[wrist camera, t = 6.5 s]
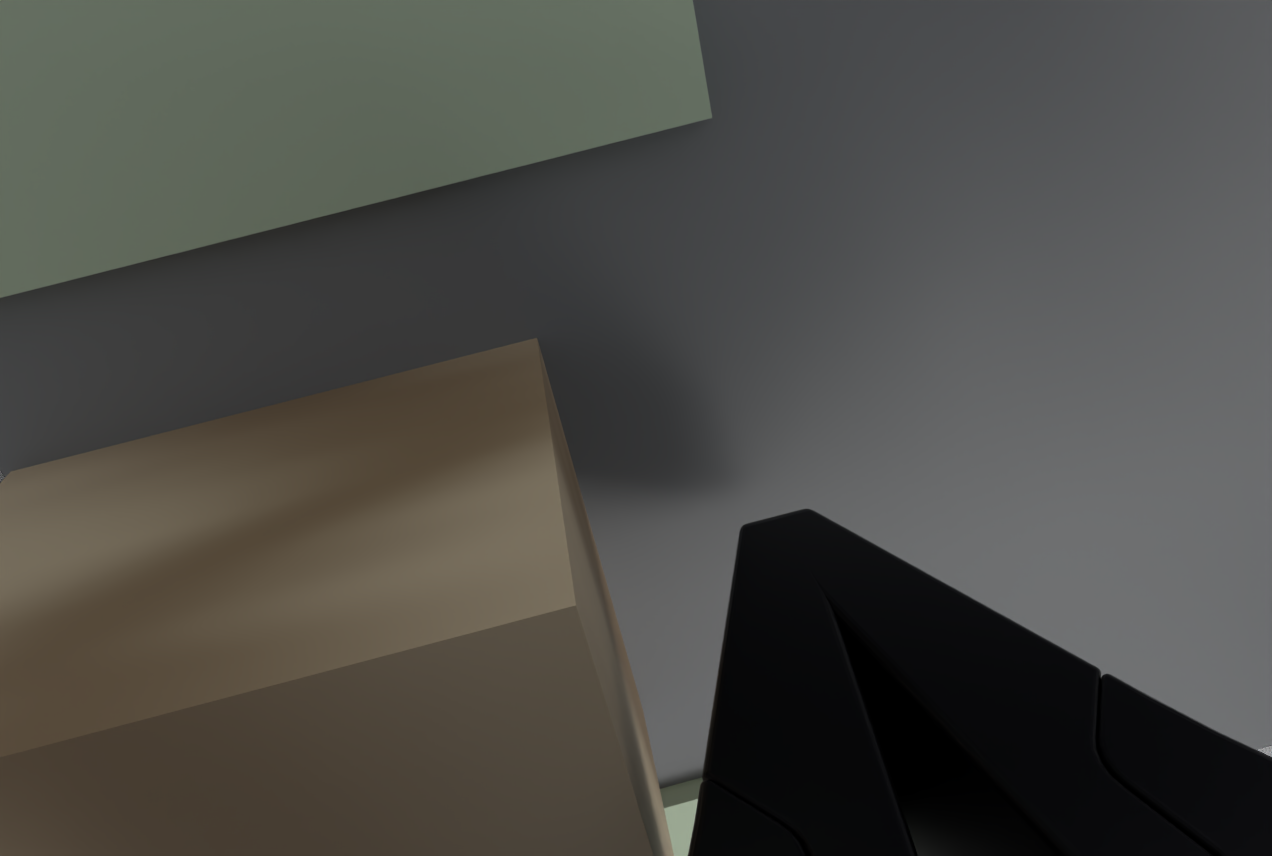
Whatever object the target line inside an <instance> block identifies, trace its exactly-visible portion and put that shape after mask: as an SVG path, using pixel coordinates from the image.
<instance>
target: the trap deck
mask: <svg viewBox="0 0 1272 856" xmlns="http://www.w3.org/2000/svg"><path fill="white" fill-rule="evenodd" d="M534 338H537V339H538V343H539V346H540V350H541V353H542V357H543V360H544V364H545V368H546V371H547V375H548V378H549V382H550V385H551V389H552V392H553V396H554V399H555V403H556V406H557V410H558V413H559V417H560V420H561V424H562V427H563V431H564V434H565V438H566V441H567V445H568V448H569V452H570V455H571V459H572V462H573V466H574V470H575V473H576V477H577V480H578V484H579V487H580V491H581V494H582V498H583V501H584V505H585V508H586V512H587V515H588V519H589V522H590V526H591V529H592V533H593V536H594V540H595V543H596V547H597V550H598V554H599V557H600V561H601V565H602V568H603V572H604V575H605V579H606V582H607V586H608V589H609V593H610V596H611V600H612V603H613V607H614V610H615V614H616V617H617V621H618V624H619V628H620V631H621V635H622V638H623V642H624V645H625V649H626V652H627V656H628V659H629V663H630V667H631V670H632V674H633V677H634V681H635V684H636V688H637V691H638V695H639V698H640V702H641V705H642V709H643V712H644V717H645V722H646V726H647V731H648V736H649V741H650V745H651V750H652V755H653V759H654V764H655V769H656V773H657V778H658V783H659V788H660V792H661V797H662V802H663V806H664V811H665V816H666V820H667V825H668V830H669V834H670V839H671V844H672V849H673V853H674V856H688V852H689V847H690V842H691V837H692V831H693V826H694V821H695V815H696V808H697V802H698V796H699V789H700V784H701V783H702V782H703V780H702V773H703V766H704V760H705V753H706V747H707V740H708V734H709V727H710V721H711V714H712V708H713V701H714V695H715V688H716V681H717V675H718V668H719V662H720V655H721V649H722V642H723V636H724V629H725V623H726V616H727V609H728V603H729V596H730V590H731V583H732V577H733V570H734V564H735V557H736V551H737V544H738V538H739V531H740V529H741V527H742V526H743V525H744V524H747V523H751V522H755V521H758V520H762V519H766V518H770V517H774V516H778V515H782V514H785V513H789V512H793V511H797V510H801V509H806V508H807V509H812V510H814V511H816V512H818V513H819V514H821V515H823V516H825V517H827V518H829V519H830V520H832V521H834V522H836V523H838V524H839V525H841V526H843V527H845V528H847V529H848V530H850V531H852V532H854V533H856V534H857V535H859V536H861V537H863V538H865V539H866V540H868V541H870V542H872V543H874V544H875V545H877V546H879V547H881V548H883V549H884V550H886V551H888V552H890V553H892V554H893V555H895V556H897V557H899V558H901V559H903V560H904V561H906V562H908V563H910V564H912V565H913V566H915V567H917V568H919V569H921V570H922V571H924V572H926V573H928V574H930V575H931V576H933V577H935V578H937V579H939V580H940V581H942V582H944V583H946V584H948V585H949V586H951V587H953V588H955V589H957V590H958V591H960V592H962V593H964V594H966V595H968V596H969V597H971V598H973V599H975V600H977V601H978V602H980V603H982V604H984V605H986V606H987V607H989V608H991V609H993V610H995V611H996V612H998V613H1000V614H1002V615H1004V616H1005V617H1007V618H1009V619H1011V620H1013V621H1014V622H1016V623H1018V624H1020V625H1022V626H1023V627H1025V628H1027V629H1029V630H1031V631H1033V632H1034V633H1036V634H1038V635H1040V636H1042V637H1043V638H1045V639H1047V640H1049V641H1051V642H1052V643H1054V644H1056V645H1058V646H1060V647H1061V648H1063V649H1065V650H1067V651H1069V652H1070V653H1072V654H1074V655H1076V656H1078V657H1079V658H1081V659H1083V660H1085V661H1087V662H1088V663H1090V664H1092V665H1094V666H1096V667H1097V668H1099V669H1100V671H1101V677H1102V676H1103V675H1104V674H1111V675H1113V676H1114V677H1116V678H1118V679H1120V680H1122V681H1123V682H1125V683H1127V684H1129V685H1131V686H1133V687H1134V688H1136V689H1138V690H1140V691H1142V692H1143V693H1145V694H1147V695H1149V696H1151V697H1153V698H1154V699H1156V700H1158V701H1160V702H1162V703H1164V704H1166V705H1168V706H1170V707H1172V708H1174V709H1175V710H1177V711H1179V712H1181V713H1183V714H1185V715H1187V716H1189V717H1191V718H1193V719H1195V720H1196V721H1198V722H1200V723H1202V724H1204V725H1206V726H1208V727H1210V728H1212V729H1214V730H1216V731H1218V732H1220V733H1222V734H1224V735H1226V736H1228V737H1230V738H1232V739H1234V740H1237V741H1239V742H1241V743H1243V744H1245V745H1247V746H1249V747H1251V748H1253V749H1256V750H1257V749H1261V748H1264V747H1268V746H1271V745H1272V0H0V471H1V472H2V474H3V475H4V477H6V476H7V475H8V474H9V473H10V472H11V471H15V470H19V469H23V468H27V467H31V466H34V465H38V464H42V463H46V462H50V461H54V460H58V459H62V458H66V457H70V456H74V455H78V454H82V453H86V452H90V451H94V450H97V449H101V448H105V447H109V446H113V445H117V444H121V443H125V442H129V441H133V440H137V439H141V438H145V437H149V436H153V435H156V434H160V433H164V432H168V431H172V430H176V429H180V428H184V427H188V426H192V425H196V424H200V423H204V422H208V421H212V420H215V419H219V418H223V417H227V416H231V415H235V414H239V413H243V412H247V411H251V410H255V409H259V408H263V407H267V406H271V405H274V404H278V403H282V402H286V401H290V400H294V399H298V398H302V397H306V396H310V395H314V394H318V393H322V392H326V391H330V390H333V389H337V388H341V387H345V386H349V385H353V384H357V383H361V382H365V381H369V380H373V379H377V378H381V377H385V376H389V375H392V374H396V373H400V372H404V371H408V370H412V369H416V368H420V367H424V366H428V365H432V364H436V363H440V362H444V361H448V360H451V359H455V358H459V357H463V356H467V355H471V354H475V353H479V352H483V351H487V350H491V349H495V348H499V347H503V346H507V345H510V344H514V343H518V342H522V341H526V340H530V339H534Z"/></svg>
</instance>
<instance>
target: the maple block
mask: <svg viewBox="0 0 1272 856" xmlns="http://www.w3.org/2000/svg"><path fill="white" fill-rule="evenodd" d="M0 856H674V853H673V849H672V844H671V839H670V834H669V830H668V825H667V820H666V816H665V811H664V806H663V802H662V797H661V792H660V788H659V783H658V778H657V773H656V769H655V764H654V759H653V755H652V750H651V745H650V741H649V736H648V731H647V726H646V722H645V717H644V712H643V709H642V705H641V702H640V698H639V695H638V691H637V688H636V684H635V681H634V677H633V674H632V670H631V667H630V663H629V659H628V656H627V652H626V649H625V645H624V642H623V638H622V635H621V631H620V628H619V624H618V621H617V617H616V614H615V610H614V607H613V603H612V600H611V596H610V593H609V589H608V586H607V582H606V579H605V575H604V572H603V568H602V565H601V561H600V557H599V554H598V550H597V547H596V543H595V540H594V536H593V533H592V529H591V526H590V522H589V519H588V515H587V512H586V508H585V505H584V501H583V498H582V494H581V491H580V487H579V484H578V480H577V477H576V473H575V470H574V466H573V462H572V459H571V455H570V452H569V448H568V445H567V441H566V438H565V434H564V431H563V427H562V424H561V420H560V417H559V413H558V410H557V406H556V403H555V399H554V396H553V392H552V389H551V385H550V382H549V378H548V375H547V371H546V368H545V364H544V360H543V357H542V353H541V350H540V346H539V343H538V339H537V338H534V339H530V340H526V341H522V342H518V343H514V344H510V345H507V346H503V347H499V348H495V349H491V350H487V351H483V352H479V353H475V354H471V355H467V356H463V357H459V358H455V359H451V360H448V361H444V362H440V363H436V364H432V365H428V366H424V367H420V368H416V369H412V370H408V371H404V372H400V373H396V374H392V375H389V376H385V377H381V378H377V379H373V380H369V381H365V382H361V383H357V384H353V385H349V386H345V387H341V388H337V389H333V390H330V391H326V392H322V393H318V394H314V395H310V396H306V397H302V398H298V399H294V400H290V401H286V402H282V403H278V404H274V405H271V406H267V407H263V408H259V409H255V410H251V411H247V412H243V413H239V414H235V415H231V416H227V417H223V418H219V419H215V420H212V421H208V422H204V423H200V424H196V425H192V426H188V427H184V428H180V429H176V430H172V431H168V432H164V433H160V434H156V435H153V436H149V437H145V438H141V439H137V440H133V441H129V442H125V443H121V444H117V445H113V446H109V447H105V448H101V449H97V450H94V451H90V452H86V453H82V454H78V455H74V456H70V457H66V458H62V459H58V460H54V461H50V462H46V463H42V464H38V465H34V466H31V467H27V468H23V469H19V470H15V471H11V472H10V473H9V474H8V475H7V476H6V477H5V478H4V480H3V481H2V482H1V483H0Z"/></svg>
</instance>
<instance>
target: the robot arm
mask: <svg viewBox="0 0 1272 856" xmlns="http://www.w3.org/2000/svg"><path fill="white" fill-rule="evenodd" d="M702 780H703V782H702V783H701V784H700V789H699V796H698V802H697V808H696V815H695V821H694V826H693V831H692V837H691V842H690V847H689V852H688V856H1272V757H1270V756H1268V755H1266V754H1264V753H1262V752H1260V751H1258V750H1256V749H1253V748H1251V747H1249V746H1247V745H1245V744H1243V743H1241V742H1239V741H1237V740H1234V739H1232V738H1230V737H1228V736H1226V735H1224V734H1222V733H1220V732H1218V731H1216V730H1214V729H1212V728H1210V727H1208V726H1206V725H1204V724H1202V723H1200V722H1198V721H1196V720H1195V719H1193V718H1191V717H1189V716H1187V715H1185V714H1183V713H1181V712H1179V711H1177V710H1175V709H1174V708H1172V707H1170V706H1168V705H1166V704H1164V703H1162V702H1160V701H1158V700H1156V699H1154V698H1153V697H1151V696H1149V695H1147V694H1145V693H1143V692H1142V691H1140V690H1138V689H1136V688H1134V687H1133V686H1131V685H1129V684H1127V683H1125V682H1123V681H1122V680H1120V679H1118V678H1116V677H1114V676H1113V675H1111V674H1104V675H1103V676H1102V677H1101V671H1100V669H1099V668H1097V667H1096V666H1094V665H1092V664H1090V663H1088V662H1087V661H1085V660H1083V659H1081V658H1079V657H1078V656H1076V655H1074V654H1072V653H1070V652H1069V651H1067V650H1065V649H1063V648H1061V647H1060V646H1058V645H1056V644H1054V643H1052V642H1051V641H1049V640H1047V639H1045V638H1043V637H1042V636H1040V635H1038V634H1036V633H1034V632H1033V631H1031V630H1029V629H1027V628H1025V627H1023V626H1022V625H1020V624H1018V623H1016V622H1014V621H1013V620H1011V619H1009V618H1007V617H1005V616H1004V615H1002V614H1000V613H998V612H996V611H995V610H993V609H991V608H989V607H987V606H986V605H984V604H982V603H980V602H978V601H977V600H975V599H973V598H971V597H969V596H968V595H966V594H964V593H962V592H960V591H958V590H957V589H955V588H953V587H951V586H949V585H948V584H946V583H944V582H942V581H940V580H939V579H937V578H935V577H933V576H931V575H930V574H928V573H926V572H924V571H922V570H921V569H919V568H917V567H915V566H913V565H912V564H910V563H908V562H906V561H904V560H903V559H901V558H899V557H897V556H895V555H893V554H892V553H890V552H888V551H886V550H884V549H883V548H881V547H879V546H877V545H875V544H874V543H872V542H870V541H868V540H866V539H865V538H863V537H861V536H859V535H857V534H856V533H854V532H852V531H850V530H848V529H847V528H845V527H843V526H841V525H839V524H838V523H836V522H834V521H832V520H830V519H829V518H827V517H825V516H823V515H821V514H819V513H818V512H816V511H814V510H812V509H807V508H806V509H801V510H797V511H793V512H789V513H785V514H782V515H778V516H774V517H770V518H766V519H762V520H758V521H755V522H751V523H747V524H744V525H743V526H742V527H741V529H740V531H739V538H738V544H737V551H736V557H735V564H734V570H733V577H732V583H731V590H730V596H729V603H728V609H727V616H726V623H725V629H724V636H723V642H722V649H721V655H720V662H719V668H718V675H717V681H716V688H715V695H714V701H713V708H712V714H711V721H710V727H709V734H708V740H707V747H706V753H705V760H704V766H703V773H702Z"/></svg>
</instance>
